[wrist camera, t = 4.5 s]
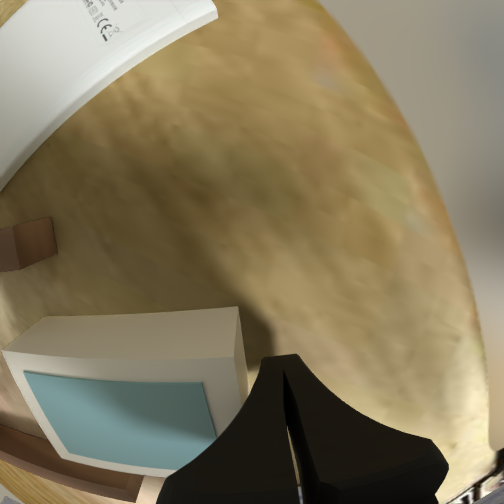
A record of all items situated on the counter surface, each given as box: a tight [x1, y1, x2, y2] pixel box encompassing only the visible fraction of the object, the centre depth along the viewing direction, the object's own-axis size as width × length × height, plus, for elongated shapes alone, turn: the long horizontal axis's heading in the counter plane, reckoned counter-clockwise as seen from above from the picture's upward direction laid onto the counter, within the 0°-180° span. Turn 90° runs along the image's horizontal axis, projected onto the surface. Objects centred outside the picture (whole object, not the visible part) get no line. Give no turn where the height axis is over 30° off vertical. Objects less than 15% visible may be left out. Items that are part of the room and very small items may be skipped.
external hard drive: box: [0, 0, 218, 192], centre depth 8 cm, size 2×8×12 cm
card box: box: [1, 306, 250, 478], centre depth 10 cm, size 6×9×4 cm, turn 96°
